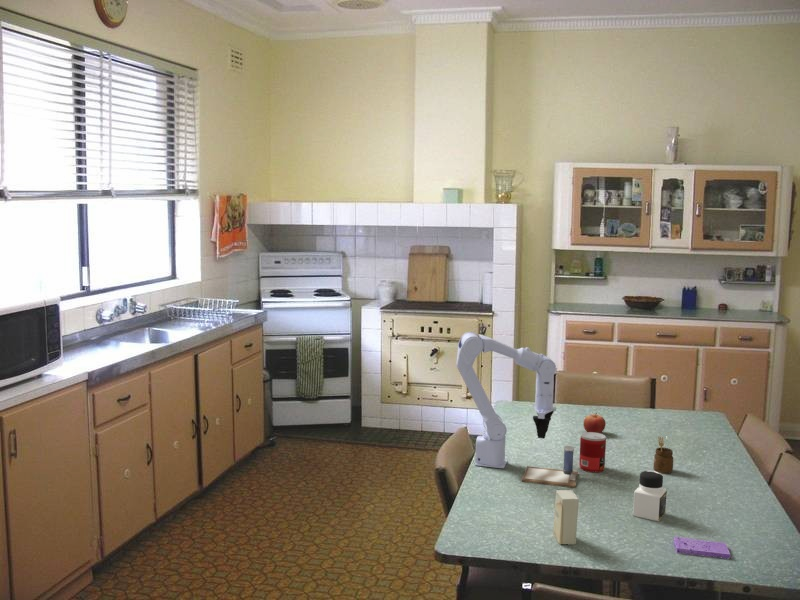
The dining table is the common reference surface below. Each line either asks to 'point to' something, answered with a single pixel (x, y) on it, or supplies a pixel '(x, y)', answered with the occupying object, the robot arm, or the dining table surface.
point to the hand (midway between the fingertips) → (542, 434)
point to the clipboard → (549, 477)
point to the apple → (594, 423)
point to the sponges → (701, 547)
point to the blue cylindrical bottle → (568, 460)
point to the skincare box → (565, 517)
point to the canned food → (592, 451)
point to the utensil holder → (663, 459)
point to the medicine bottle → (650, 496)
